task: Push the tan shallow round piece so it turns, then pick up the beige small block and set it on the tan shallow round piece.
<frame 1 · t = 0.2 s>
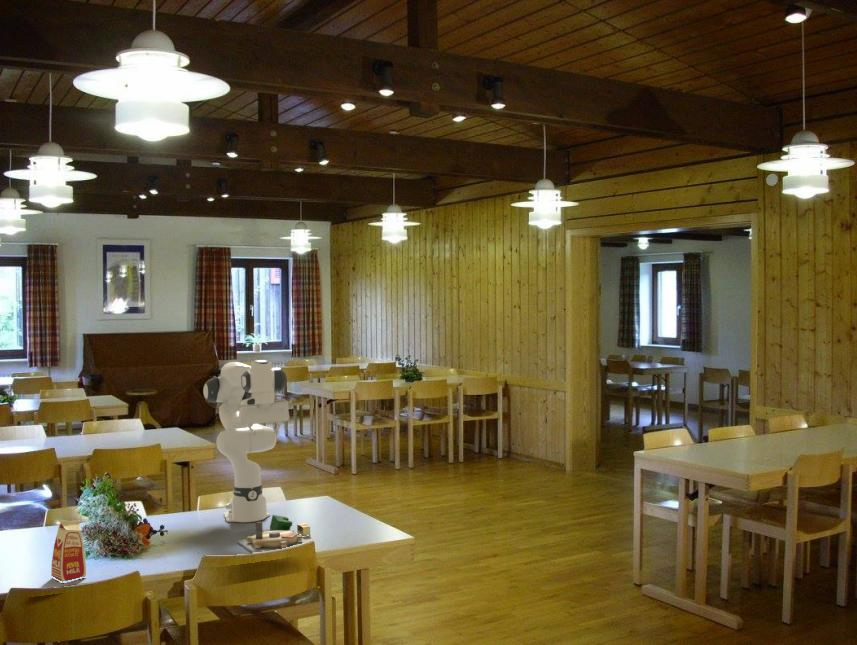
hand: (265, 434, 343), 39 cm above the table, tool pointing down, fingers open, 8 cm apart
beige small block: (303, 535, 335), on the table
base plate: (274, 544, 321), on the table
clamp: (281, 532, 341), on the table
milk carton: (69, 578, 284), on the table
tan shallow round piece: (274, 530, 321), point 5 cm above the table, hinge at 0.0°
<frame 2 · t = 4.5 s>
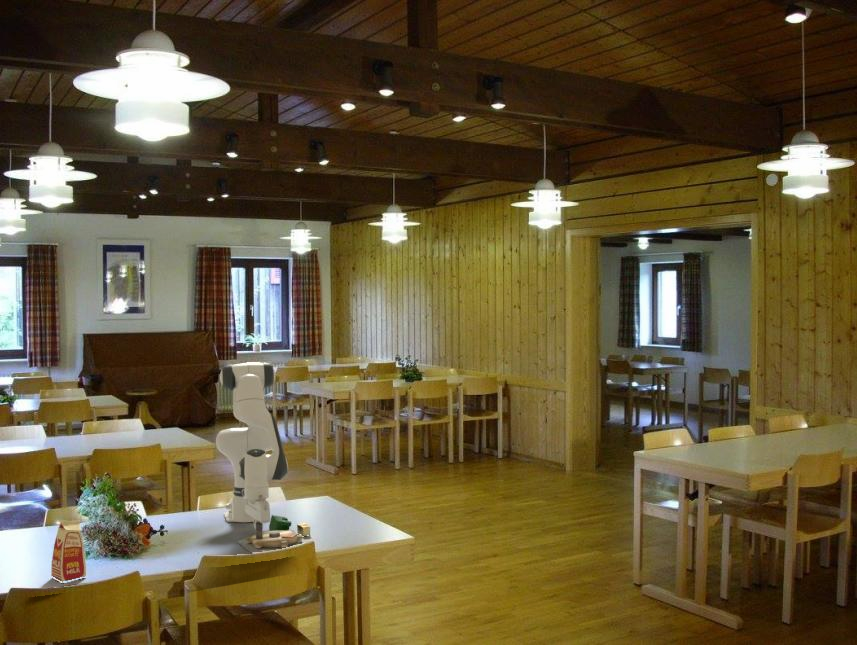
hand: (257, 529, 321), 6 cm above the table, tool pointing down, fingers closed
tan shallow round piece: (274, 530, 321), point 5 cm above the table, hinge at 1.4°, touching gripper
everything else where it was.
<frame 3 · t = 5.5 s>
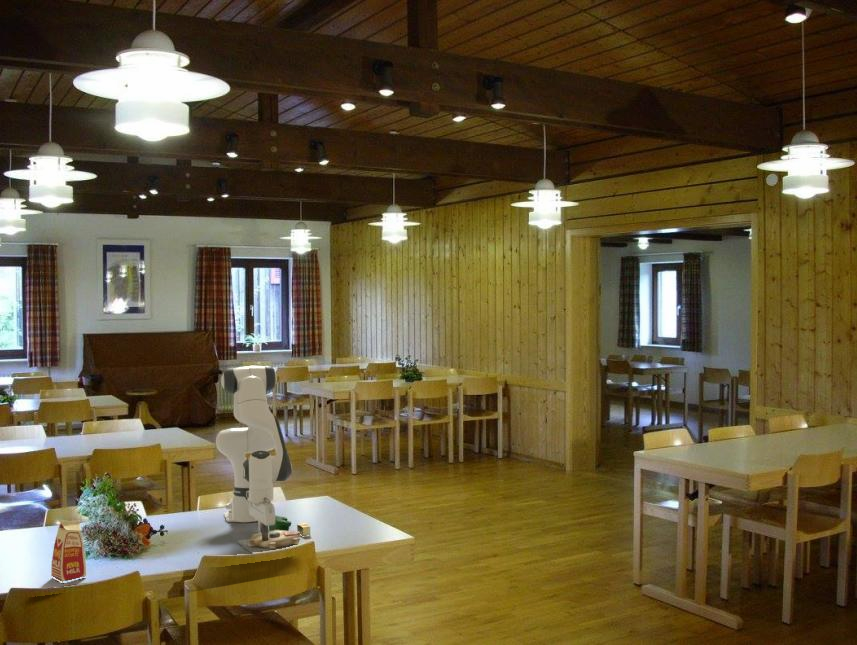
hand: (262, 532, 318), 6 cm above the table, tool pointing down, fingers closed, pressing on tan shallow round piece
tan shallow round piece: (274, 530, 321), point 5 cm above the table, hinge at 35.7°, touching gripper
everything else where it was.
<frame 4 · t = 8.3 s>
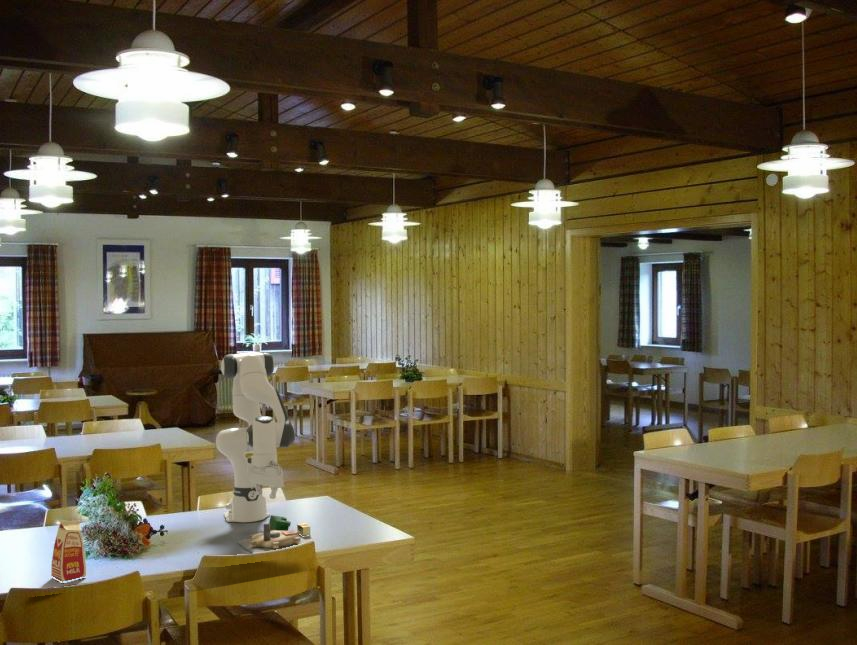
hand: (265, 496, 322), 18 cm above the table, tool pointing down, fingers open, 8 cm apart
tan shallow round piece: (274, 530, 321), point 5 cm above the table, hinge at 42.9°
everything else where it was.
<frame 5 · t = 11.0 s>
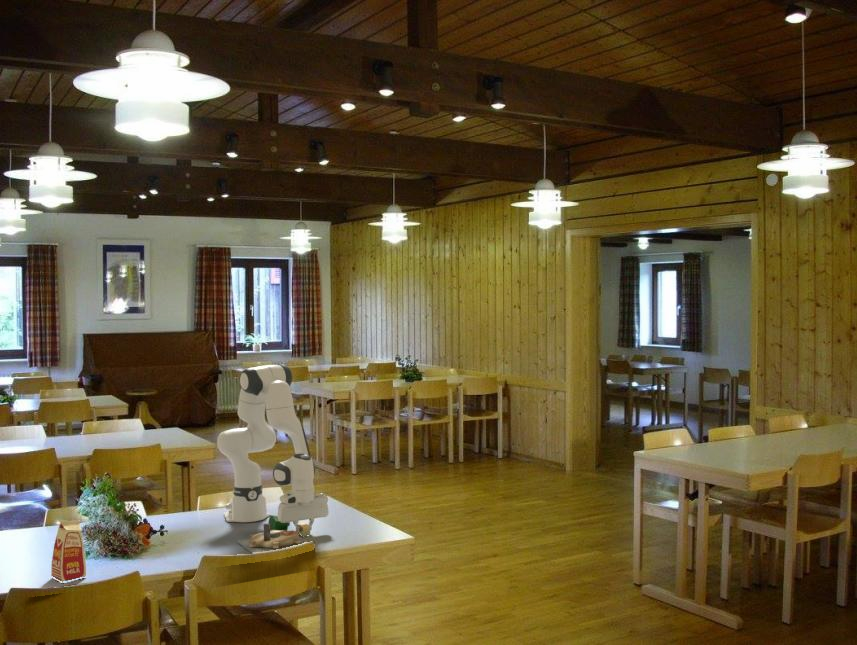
hand: (303, 530, 335), 2 cm above the table, tool pointing down, fingers closed on beige small block, 3 cm apart
beige small block: (303, 535, 335), on the table, touching gripper
everything else where it was.
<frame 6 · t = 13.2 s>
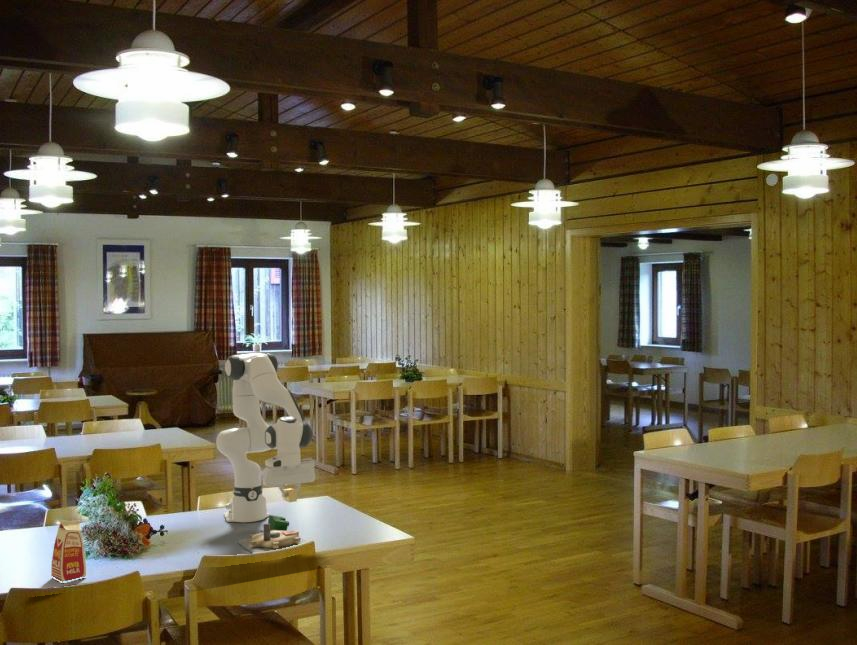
hand: (289, 496, 324), 18 cm above the table, tool pointing down, fingers closed on beige small block, 3 cm apart
beige small block: (290, 500, 324), point 16 cm above the table, touching gripper
when the fingers open (6 cm above the table, at t = 15.5 s): beige small block stays where it is, resting on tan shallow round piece.
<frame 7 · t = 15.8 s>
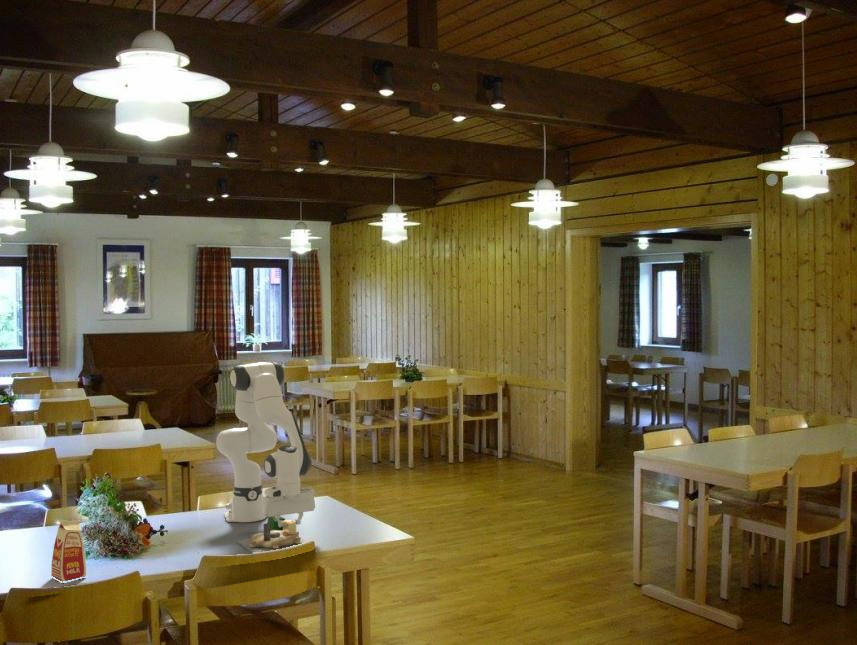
hand: (289, 525, 324), 6 cm above the table, tool pointing down, fingers open, 5 cm apart
beige small block: (289, 532, 324), point 4 cm above the table, touching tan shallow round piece
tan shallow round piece: (274, 530, 321), point 5 cm above the table, hinge at 42.9°, touching beige small block
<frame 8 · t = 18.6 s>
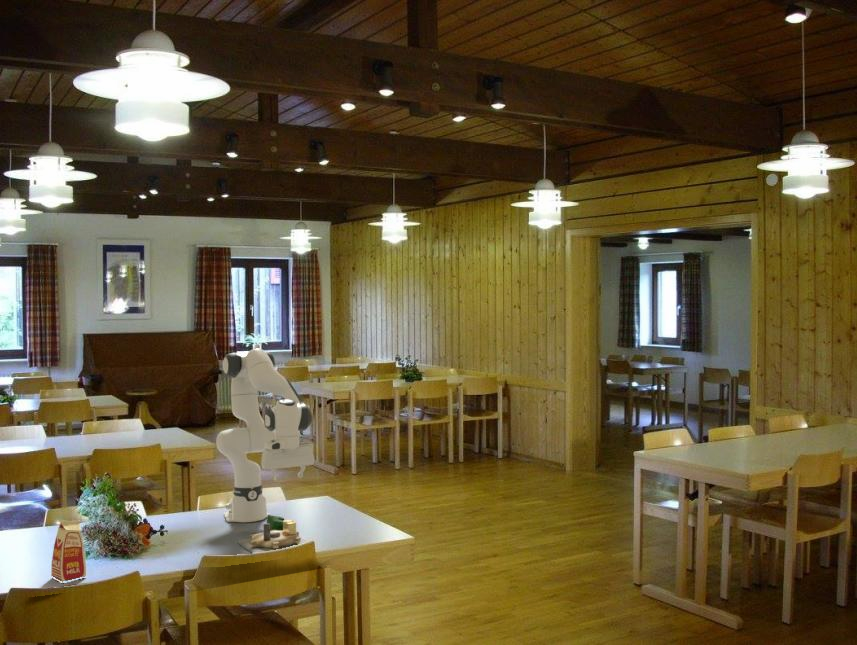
hand: (288, 479, 324), 24 cm above the table, tool pointing down, fingers open, 8 cm apart
at the end: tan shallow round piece at +43° (first picture: +0°); beige small block inside the target area on the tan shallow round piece (6.0 cm from its centre), point 3.8 cm above the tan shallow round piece's base; the gripper is holding nothing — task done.
